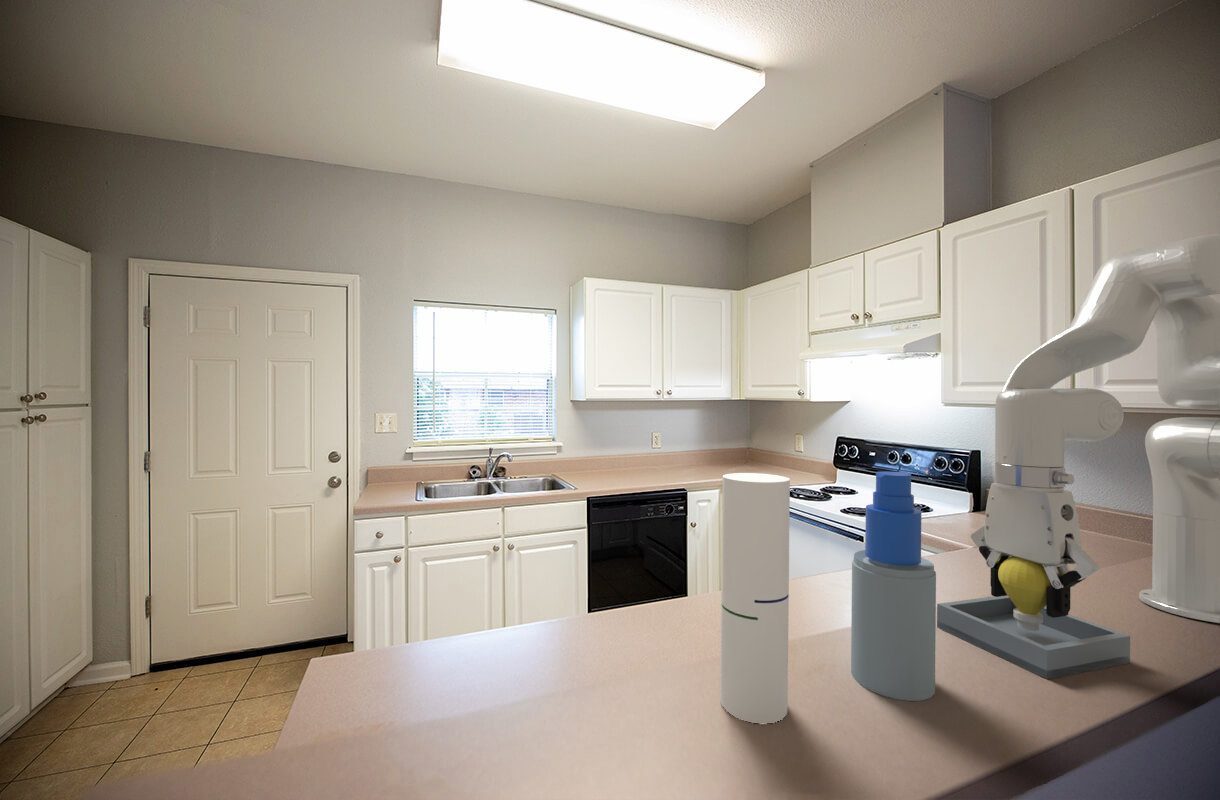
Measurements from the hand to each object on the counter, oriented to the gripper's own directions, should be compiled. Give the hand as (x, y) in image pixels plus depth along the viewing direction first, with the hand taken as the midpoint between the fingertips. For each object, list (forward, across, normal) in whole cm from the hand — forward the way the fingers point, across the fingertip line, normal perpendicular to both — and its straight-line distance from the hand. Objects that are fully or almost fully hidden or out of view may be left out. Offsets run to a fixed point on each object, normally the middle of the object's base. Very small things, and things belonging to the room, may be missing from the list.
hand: (1027, 604), depth 72 cm
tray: (+5, 0, 0) cm, 5 cm away
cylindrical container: (+5, -2, +45) cm, 46 cm away
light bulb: (+3, 0, 0) cm, 3 cm away
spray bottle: (+6, -2, +26) cm, 27 cm away
